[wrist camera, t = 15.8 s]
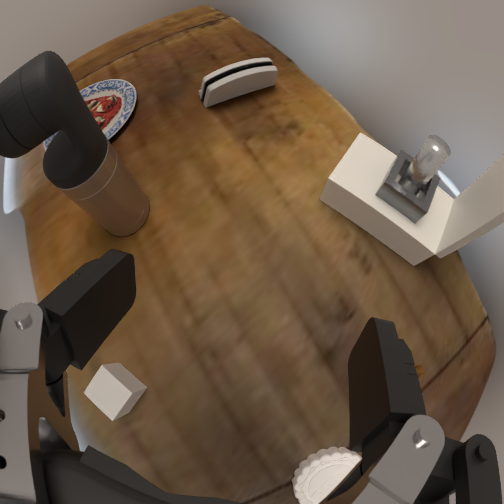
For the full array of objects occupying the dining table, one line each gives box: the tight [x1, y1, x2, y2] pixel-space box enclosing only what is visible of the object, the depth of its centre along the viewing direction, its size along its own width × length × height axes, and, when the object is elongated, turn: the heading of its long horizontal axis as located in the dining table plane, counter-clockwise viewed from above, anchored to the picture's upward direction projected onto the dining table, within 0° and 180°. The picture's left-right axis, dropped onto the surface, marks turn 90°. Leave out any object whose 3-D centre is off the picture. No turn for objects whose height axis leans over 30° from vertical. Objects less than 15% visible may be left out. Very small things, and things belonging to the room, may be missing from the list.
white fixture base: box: [319, 133, 504, 266], centre depth 34 cm, size 21×13×27 cm, turn 54°
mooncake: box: [292, 447, 362, 504], centre depth 32 cm, size 12×12×4 cm
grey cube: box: [84, 363, 147, 421], centre depth 36 cm, size 6×6×6 cm
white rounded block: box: [199, 58, 278, 108], centre depth 52 cm, size 17×5×10 cm, turn 117°
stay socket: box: [375, 150, 440, 223], centre depth 38 cm, size 8×8×4 cm
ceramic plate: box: [44, 79, 136, 151], centre depth 54 cm, size 26×26×3 cm
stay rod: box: [397, 135, 450, 196], centre depth 34 cm, size 4×4×12 cm
